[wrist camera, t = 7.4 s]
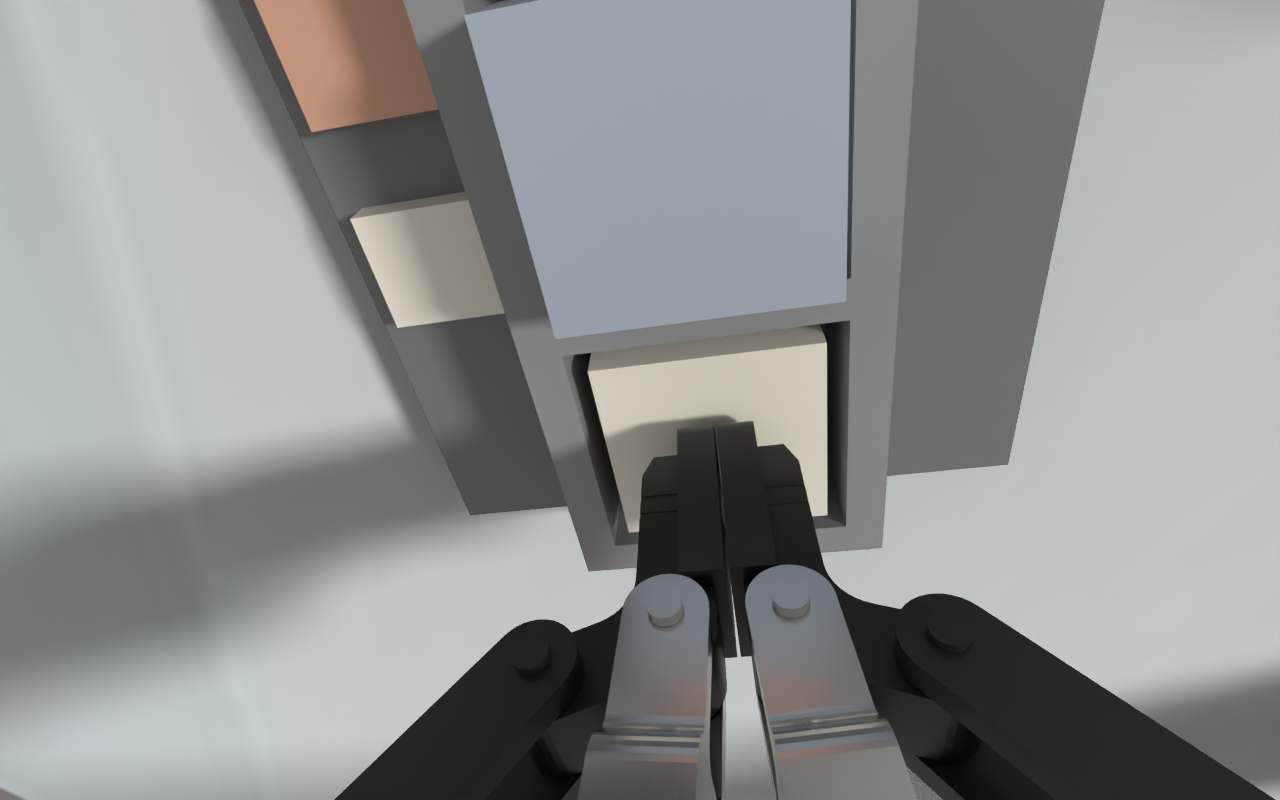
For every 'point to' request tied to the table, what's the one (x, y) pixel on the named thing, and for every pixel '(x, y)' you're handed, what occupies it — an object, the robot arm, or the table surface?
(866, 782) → the robot arm
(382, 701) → the table surface
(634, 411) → the key cream
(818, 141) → the key slate
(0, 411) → the table surface
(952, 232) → the keypad
